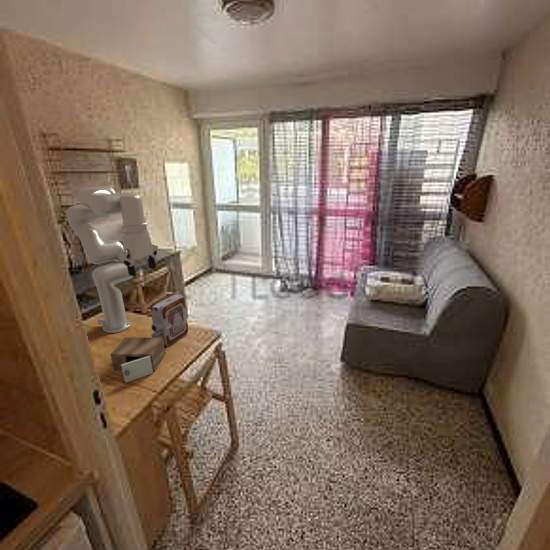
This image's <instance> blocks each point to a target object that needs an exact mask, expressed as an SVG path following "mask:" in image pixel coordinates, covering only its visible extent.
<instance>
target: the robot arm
mask: <svg viewBox="0 0 550 550" xmlns="http://www.w3.org/2000/svg"><path fill="white" fill-rule="evenodd" d="M77 198H78V201H79V203H80V204H75V205H72V206H70V207H68V208H67V209H66V212H65V215H66V219H67V222H68V224H69V226H70V228H71V229H72V231H74V234H75V235H77V237H78V239H79V241H80V243H81V245H82V247H83V250H84V252H85V255H86V256H87V258H88V261H89V262H90V263H91V264H93V265H99V264H103V263H108V262H112V261H115V262H112V263H108V264H104V265H101V266H98V267H95V268H94V269H93V270H92V273H91V277H92V280H93V282H94V285H95V286H96V289H97V293H98V297H99V300H100V305H101V310H102V314H103V317H99V318H98V319H97V324H98V325H102V331H103V332H104V333H108V334H115V333H119V332H123V331H125V330H127V329H128V328H130V327H131V324H132V322H131V320H130V319H128V318H127V314H126V309H125V308H126V307H125V304H124V303H125V302H124V299H123V293H122V291H121V289H120V288H118V287H117V286H116V284H118V283H121V282H122V283H123V282H126V281H128V280H130V279H132V278H133V277H136V276H137V272H136V268H135V265H134V264H135V262H136V261H138V260H140V259H143V258H146V257H148V258H147V263H148V268H150V269H154V270H155V269H156V268H157V266H156V264H157V263H156V260H155V259H156V258H157V257H156V256H157V254H158V248H159V246H158V245H156V244H153V242H152V239H151V236H150V233H149V231H148V229H147V227H148V223H147V222H146V219H145V213H144V207H143V206H144V205H143V200H142V197H141V195H139V194H136V193H131V192H117V193H116V191H115V189H114V188H112V187H111V186H108V185H101V186H90V187H89V186H88V187H84V188H82V189H80V191H79V192H78V193H77ZM120 214H121V217H122V218H121V219H122V223H123V229H124V233H123V235H122V242H120V240H117V239H109V240H103V238H102V236H101V233H100V232H99V230H97V229H96V228H95V227H94V226H92V225H90V223H97V222H98V223H99V222H103V221H107V220H110V218H111V217H112V216H114V215H115V216H116V215H120Z"/></svg>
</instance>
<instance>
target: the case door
mask: <svg viewBox="0 0 550 550" xmlns="http://www.w3.org/2000/svg"><path fill="white" fill-rule="evenodd" d="M121 366H122V370H123V372H122V376H123V380H124V382H125V383H129V382H132V381H135V380H138V379H140V378H143V377H147V376H149V375H151V374H154V372H153V369H152V364H151V358H150V356H147V357H144V358H140V359H137V360H134V361H131V362H128V363H125V364H122V365H121Z"/></svg>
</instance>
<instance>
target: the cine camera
mask: <svg viewBox="0 0 550 550" xmlns="http://www.w3.org/2000/svg"><path fill="white" fill-rule="evenodd" d="M149 308H150V314H151V315H150V316H151V320H152V324H151V327H150V328H151V330H152V331H153V333H152V334H151V338H163V341H164V347H165V346H166V347H170V346H172V345H173V344H174V343H176V342H177V341H179V340H181V339H182V338H183V337H185V336H186V335H187V334H188V333H189V326H188V317H187V315H188V314H187V309H186V299H185V297H184V296H183V295H182V294H180V295H179V294H175V293H174V294H173V293H171V294H169V295H166V296H165V297H162V298H159V300H156V301H154V302H152V304H150V307H149Z"/></svg>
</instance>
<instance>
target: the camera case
mask: <svg viewBox="0 0 550 550" xmlns="http://www.w3.org/2000/svg"><path fill="white" fill-rule="evenodd" d="M164 355H165V356H166V349H165V345H164V341H163V338H152V337H130V336H129V337H126V336H125V337H124V338H123V339H122V340H121V341H120V342H119V344H117V346H116V347H115V348H114V349H113V350H112V351H111V353H110V360H111V364H112V367H113V372H114V371H118V372H117V373H121V372H122V373H123V370H122V366H121V365H122V364H125V363H128V362H131V361H134V360H137V359H140V358H144V357H147V356H150V358H151V364H152V369H153V373H155V372H156V371H157V369H158V367H159V366H158V365H161V362H162V360H163V359H164V358H165V356H164Z"/></svg>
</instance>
